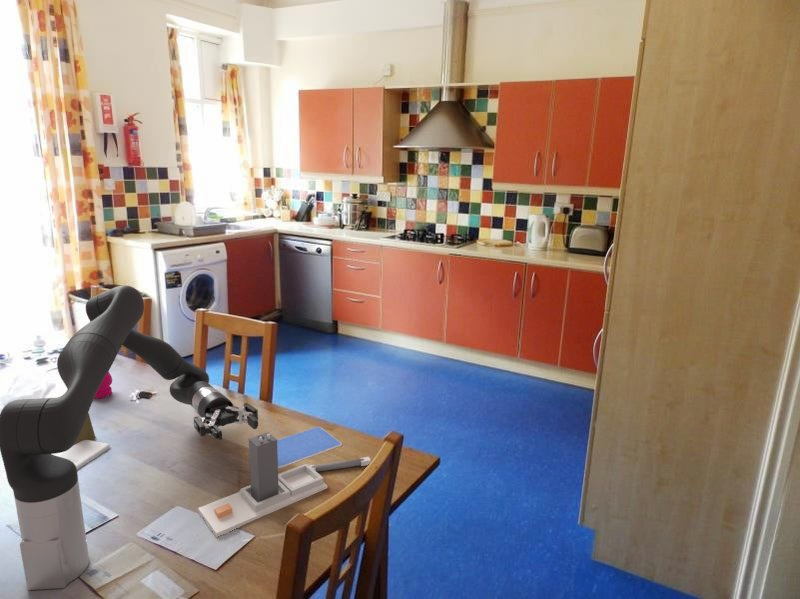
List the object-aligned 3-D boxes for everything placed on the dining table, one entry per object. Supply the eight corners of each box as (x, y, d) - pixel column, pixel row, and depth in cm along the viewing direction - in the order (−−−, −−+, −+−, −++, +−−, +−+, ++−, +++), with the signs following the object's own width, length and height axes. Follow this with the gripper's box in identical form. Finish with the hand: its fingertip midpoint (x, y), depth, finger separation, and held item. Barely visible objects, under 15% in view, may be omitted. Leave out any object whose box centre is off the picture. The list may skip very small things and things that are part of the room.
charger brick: (278, 496, 116) (277, 434, 112) (259, 504, 113) (257, 441, 109) (270, 487, 118) (268, 427, 115) (251, 495, 116) (248, 433, 112)
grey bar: (369, 461, 131) (369, 455, 131) (370, 465, 130) (370, 459, 129) (304, 471, 127) (304, 465, 126) (305, 475, 125) (305, 469, 125)
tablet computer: (277, 472, 127) (276, 468, 127) (255, 450, 136) (254, 445, 136) (343, 448, 139) (343, 443, 139) (319, 429, 148) (319, 425, 148)
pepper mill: (88, 391, 165) (81, 331, 160) (114, 388, 168) (107, 329, 163) (86, 401, 159) (78, 338, 154) (113, 397, 162) (106, 336, 157)
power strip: (305, 469, 128) (304, 460, 127) (327, 489, 120) (327, 479, 120) (198, 511, 111) (197, 501, 110) (216, 537, 104) (216, 526, 103)
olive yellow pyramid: (63, 441, 136) (58, 403, 133) (86, 431, 141) (81, 394, 139) (78, 447, 134) (73, 408, 131) (100, 437, 139) (96, 399, 136)
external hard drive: (110, 449, 134) (70, 476, 123) (83, 444, 136) (41, 470, 124) (109, 443, 134) (69, 470, 122) (83, 438, 136) (40, 464, 124)
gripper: (182, 399, 128) (207, 424, 116) (238, 385, 137) (266, 407, 125) (184, 427, 130) (209, 455, 118) (239, 411, 139) (267, 436, 127)
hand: (238, 430), depth 121 cm, fingers open, 8 cm apart
